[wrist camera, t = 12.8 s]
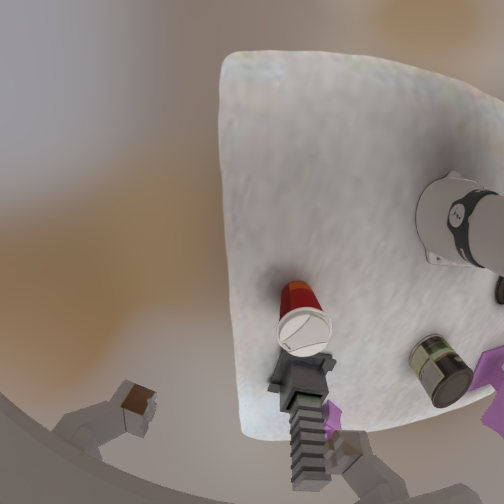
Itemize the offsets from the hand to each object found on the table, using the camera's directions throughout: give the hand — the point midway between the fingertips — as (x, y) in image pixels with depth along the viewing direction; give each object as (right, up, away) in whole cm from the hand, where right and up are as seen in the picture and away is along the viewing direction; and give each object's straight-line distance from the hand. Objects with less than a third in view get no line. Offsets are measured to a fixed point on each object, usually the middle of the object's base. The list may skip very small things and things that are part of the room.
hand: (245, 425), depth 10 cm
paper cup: (+8, 0, +38) cm, 39 cm away
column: (+9, -19, +32) cm, 39 cm away
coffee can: (+40, -16, +40) cm, 59 cm away
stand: (+10, -17, +42) cm, 46 cm away
